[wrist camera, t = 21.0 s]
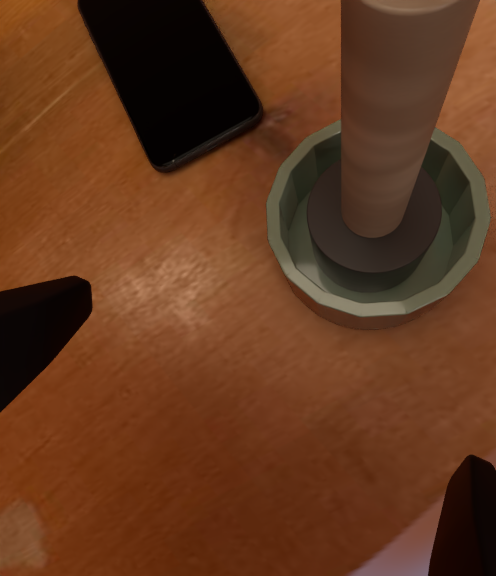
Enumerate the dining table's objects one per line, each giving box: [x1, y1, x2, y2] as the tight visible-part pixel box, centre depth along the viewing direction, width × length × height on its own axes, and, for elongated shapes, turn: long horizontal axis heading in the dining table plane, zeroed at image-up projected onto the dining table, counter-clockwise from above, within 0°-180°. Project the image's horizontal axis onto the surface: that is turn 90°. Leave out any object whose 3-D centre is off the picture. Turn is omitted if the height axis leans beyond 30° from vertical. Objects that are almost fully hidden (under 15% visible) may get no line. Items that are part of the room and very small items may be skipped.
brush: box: [306, 0, 480, 293], centre depth 16 cm, size 6×6×16 cm
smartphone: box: [78, 0, 263, 172], centre depth 28 cm, size 7×1×15 cm
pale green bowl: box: [266, 119, 491, 330], centre depth 22 cm, size 9×9×4 cm
